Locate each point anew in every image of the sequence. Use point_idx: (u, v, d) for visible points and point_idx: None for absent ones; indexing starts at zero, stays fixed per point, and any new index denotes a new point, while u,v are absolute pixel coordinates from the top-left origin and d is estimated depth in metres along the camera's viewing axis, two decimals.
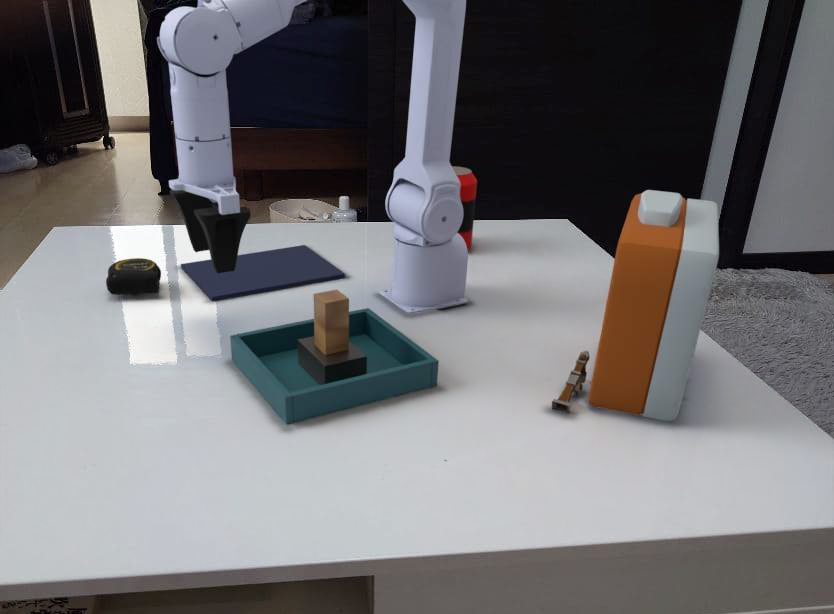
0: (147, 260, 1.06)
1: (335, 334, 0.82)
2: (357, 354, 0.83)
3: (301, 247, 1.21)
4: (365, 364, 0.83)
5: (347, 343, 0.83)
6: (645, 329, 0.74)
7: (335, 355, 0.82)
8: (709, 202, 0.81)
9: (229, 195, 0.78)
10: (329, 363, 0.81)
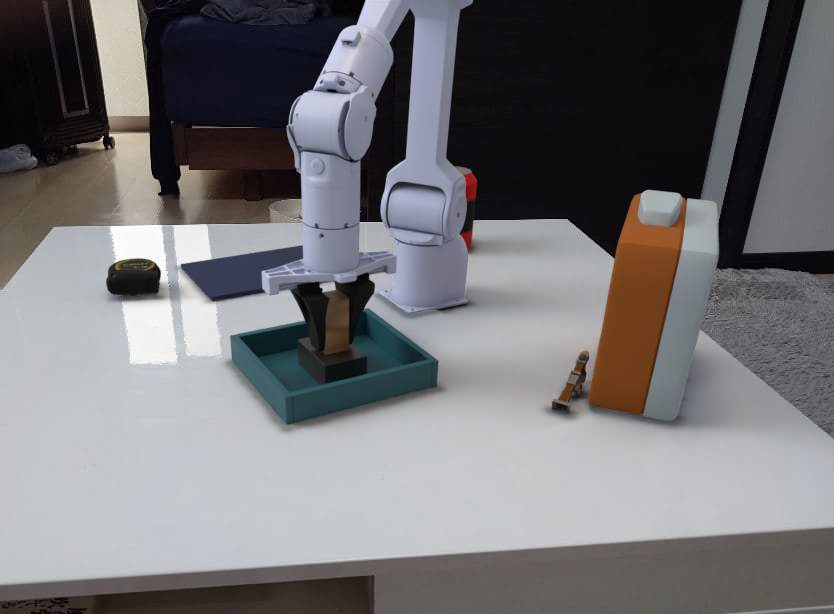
0: (147, 260, 1.06)
1: (335, 334, 0.82)
2: (357, 354, 0.83)
3: (301, 247, 1.21)
4: (365, 364, 0.83)
5: (347, 343, 0.83)
6: (645, 329, 0.74)
7: (335, 355, 0.82)
8: (709, 202, 0.81)
9: (391, 253, 0.82)
10: (329, 363, 0.81)
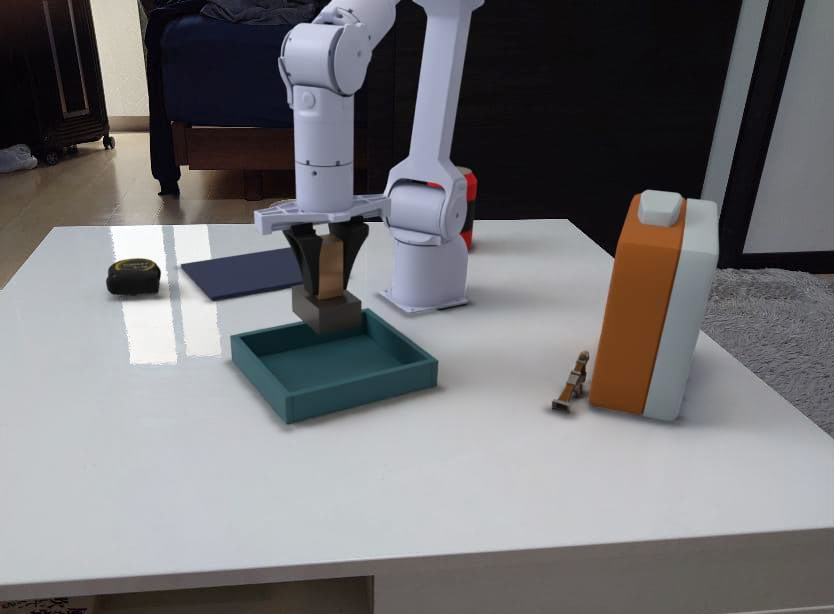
0: (147, 260, 1.06)
1: (329, 278, 0.81)
2: (352, 299, 0.82)
3: None
4: (360, 309, 0.82)
5: (341, 288, 0.82)
6: (645, 329, 0.74)
7: (329, 300, 0.81)
8: (709, 202, 0.81)
9: (386, 196, 0.81)
10: (323, 307, 0.80)
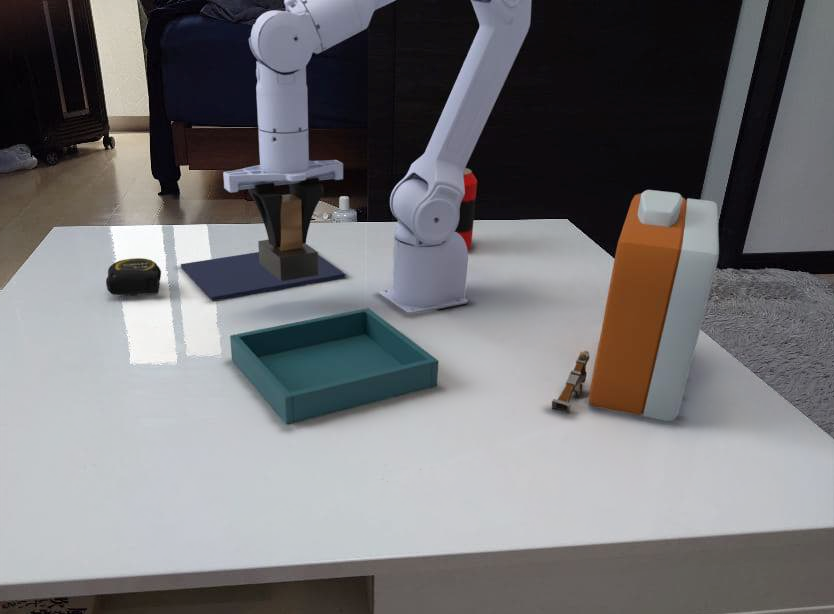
0: (147, 260, 1.06)
1: (289, 232, 0.93)
2: (309, 250, 0.94)
3: None
4: (316, 259, 0.94)
5: (301, 241, 0.95)
6: (645, 329, 0.74)
7: (290, 251, 0.94)
8: (709, 202, 0.81)
9: (338, 162, 0.94)
10: (284, 256, 0.92)
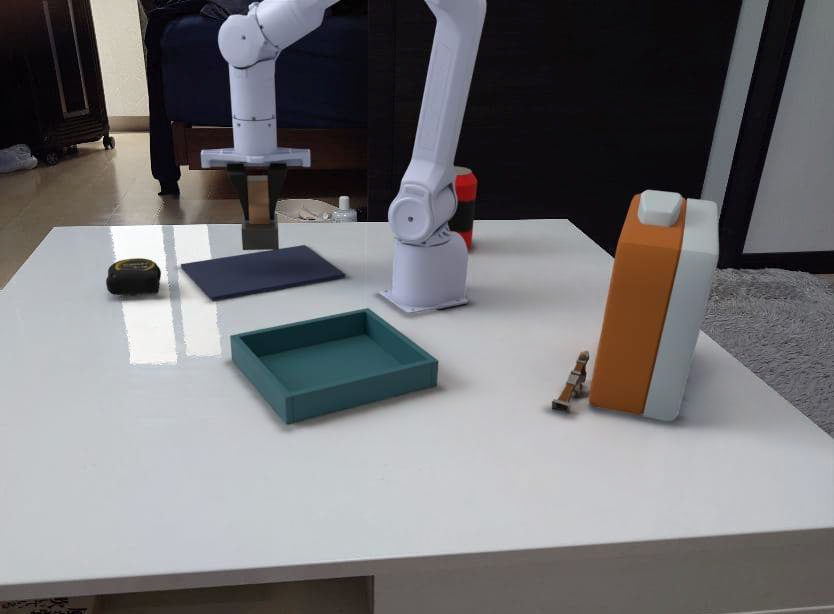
0: (147, 260, 1.06)
1: (257, 208, 1.06)
2: (272, 226, 1.07)
3: (301, 247, 1.21)
4: (277, 235, 1.06)
5: (268, 218, 1.07)
6: (645, 329, 0.74)
7: (256, 225, 1.07)
8: (709, 202, 0.81)
9: (309, 151, 1.05)
10: (245, 228, 1.06)
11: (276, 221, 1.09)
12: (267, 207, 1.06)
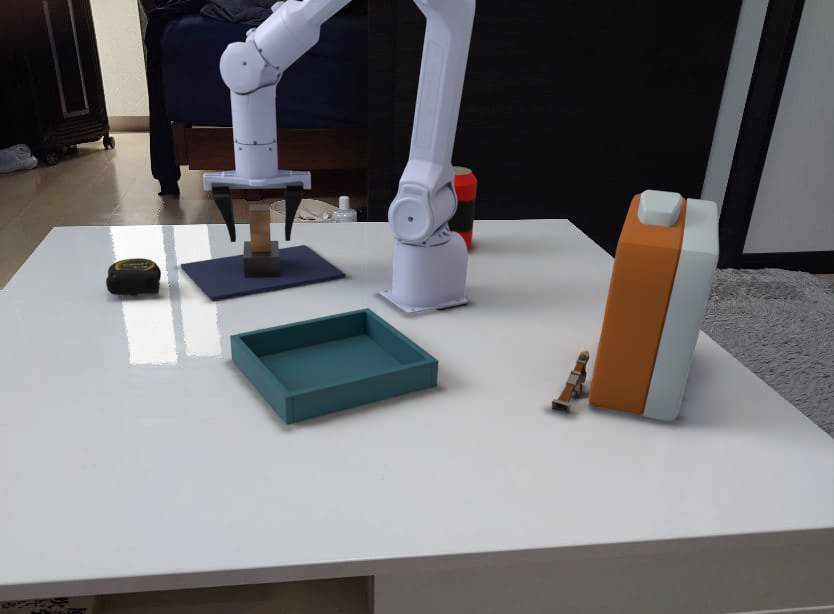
0: (147, 260, 1.06)
1: (258, 237, 1.08)
2: (273, 254, 1.09)
3: (301, 247, 1.21)
4: (278, 263, 1.09)
5: (269, 246, 1.09)
6: (645, 329, 0.74)
7: (257, 253, 1.09)
8: (709, 202, 0.81)
9: (309, 173, 1.06)
10: (247, 256, 1.08)
11: (277, 249, 1.11)
12: (268, 235, 1.09)
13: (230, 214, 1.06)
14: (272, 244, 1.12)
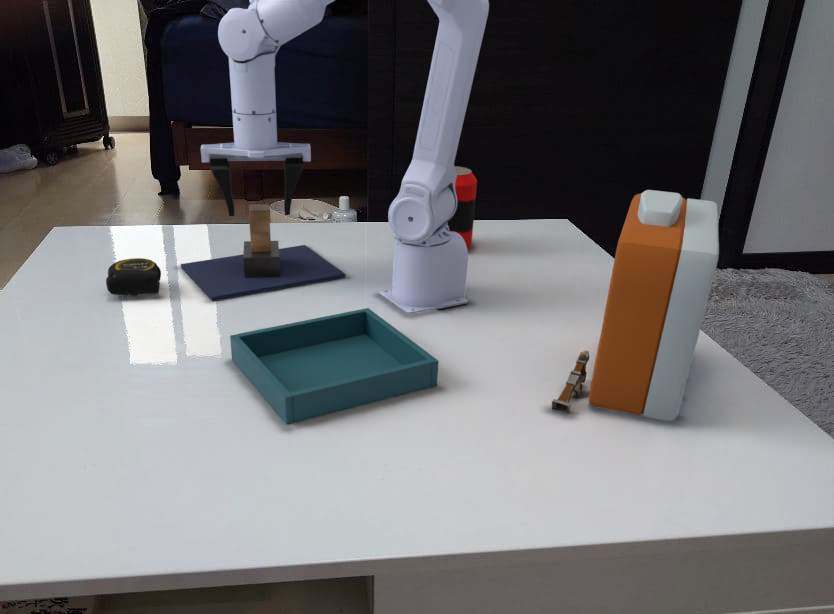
0: (147, 260, 1.06)
1: (258, 237, 1.08)
2: (273, 254, 1.09)
3: (301, 247, 1.21)
4: (278, 263, 1.09)
5: (269, 246, 1.09)
6: (645, 329, 0.74)
7: (257, 253, 1.09)
8: (709, 202, 0.81)
9: (309, 145, 1.04)
10: (247, 256, 1.08)
11: (277, 249, 1.11)
12: (268, 235, 1.09)
13: (228, 187, 1.04)
14: (272, 244, 1.12)
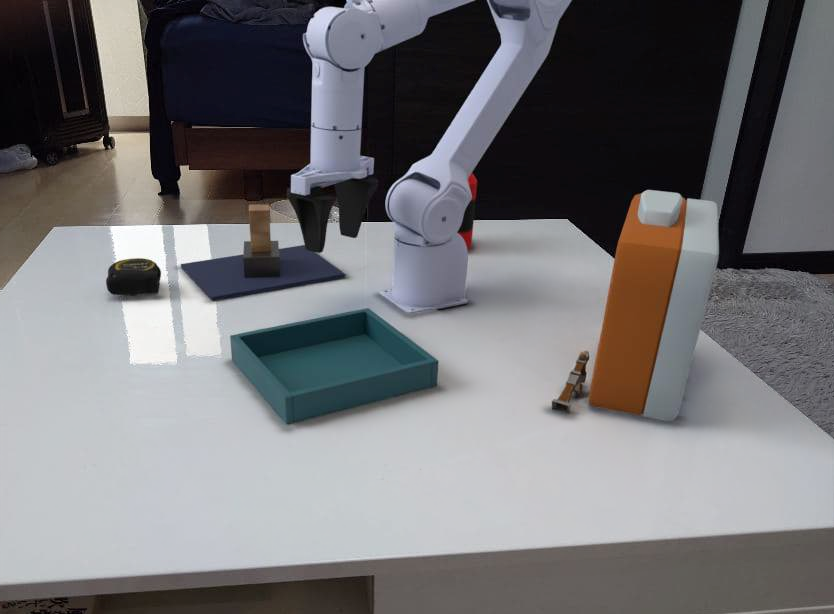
0: (147, 260, 1.06)
1: (258, 237, 1.08)
2: (273, 254, 1.09)
3: (301, 247, 1.21)
4: (278, 263, 1.09)
5: (269, 246, 1.09)
6: (645, 329, 0.74)
7: (257, 253, 1.09)
8: (709, 202, 0.81)
9: (367, 157, 0.95)
10: (247, 256, 1.08)
11: (277, 249, 1.11)
12: (268, 235, 1.09)
13: (327, 218, 0.88)
14: (272, 244, 1.12)
